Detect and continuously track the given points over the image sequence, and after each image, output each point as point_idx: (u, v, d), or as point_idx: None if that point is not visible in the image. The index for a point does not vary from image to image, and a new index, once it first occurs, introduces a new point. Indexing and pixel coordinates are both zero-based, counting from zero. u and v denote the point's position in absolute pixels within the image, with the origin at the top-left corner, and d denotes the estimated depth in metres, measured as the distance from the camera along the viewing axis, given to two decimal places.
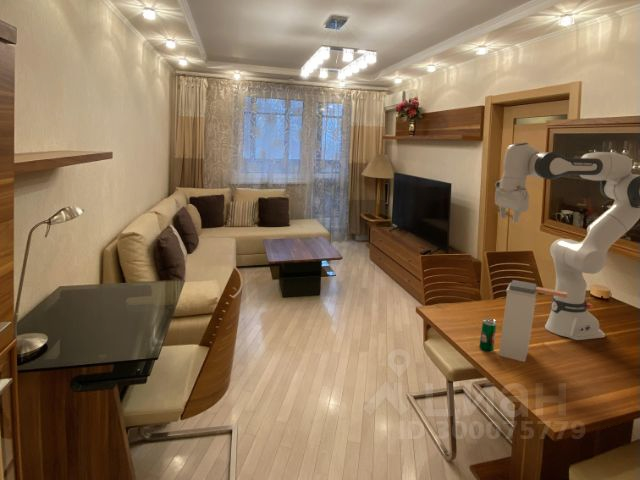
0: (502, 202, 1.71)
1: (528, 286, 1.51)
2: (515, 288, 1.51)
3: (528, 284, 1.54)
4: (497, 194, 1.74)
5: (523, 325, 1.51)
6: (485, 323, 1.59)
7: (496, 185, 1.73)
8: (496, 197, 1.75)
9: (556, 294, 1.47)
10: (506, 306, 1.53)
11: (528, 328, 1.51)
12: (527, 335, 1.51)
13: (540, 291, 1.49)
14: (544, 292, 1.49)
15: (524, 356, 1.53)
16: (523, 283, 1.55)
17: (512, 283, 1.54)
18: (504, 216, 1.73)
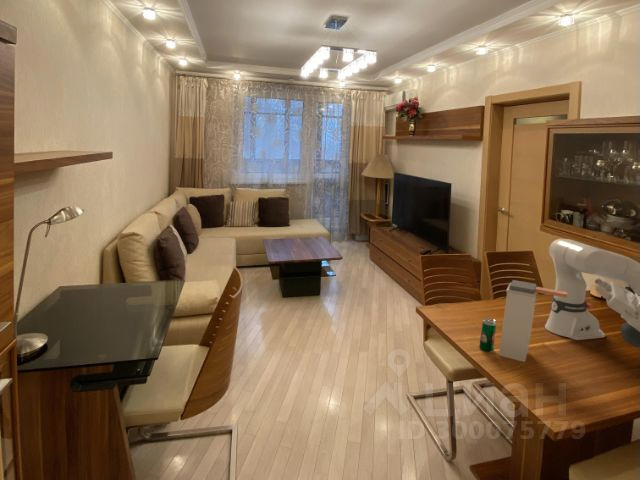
0: (617, 288, 1.41)
1: (528, 286, 1.51)
2: (515, 288, 1.51)
3: (528, 284, 1.54)
4: (624, 290, 1.44)
5: (523, 325, 1.51)
6: (485, 323, 1.59)
7: (638, 295, 1.41)
8: (621, 287, 1.45)
9: (556, 294, 1.47)
10: (506, 306, 1.53)
11: (528, 328, 1.51)
12: (527, 335, 1.51)
13: (540, 291, 1.49)
14: (544, 292, 1.49)
15: (524, 356, 1.53)
16: (523, 283, 1.55)
17: (512, 283, 1.54)
18: (596, 281, 1.44)
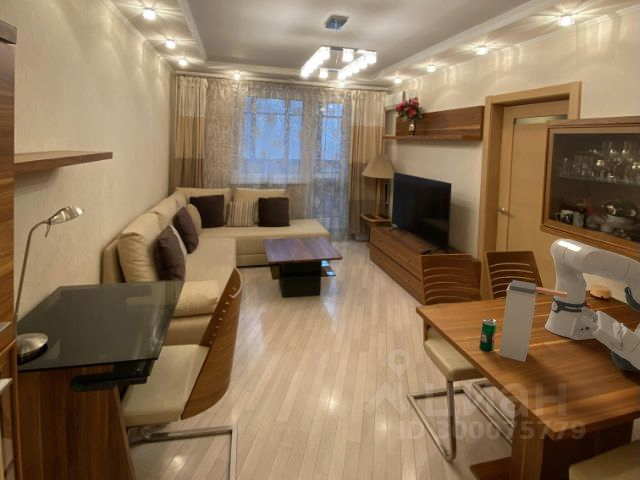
0: (604, 318, 1.44)
1: (528, 286, 1.51)
2: (515, 288, 1.51)
3: (528, 284, 1.54)
4: (611, 319, 1.47)
5: (523, 325, 1.51)
6: (485, 323, 1.59)
7: (624, 324, 1.45)
8: (607, 316, 1.48)
9: (556, 294, 1.47)
10: (506, 306, 1.53)
11: (528, 328, 1.51)
12: (527, 335, 1.51)
13: (540, 291, 1.49)
14: (544, 292, 1.49)
15: (524, 356, 1.53)
16: (523, 283, 1.55)
17: (512, 283, 1.54)
18: (583, 310, 1.48)
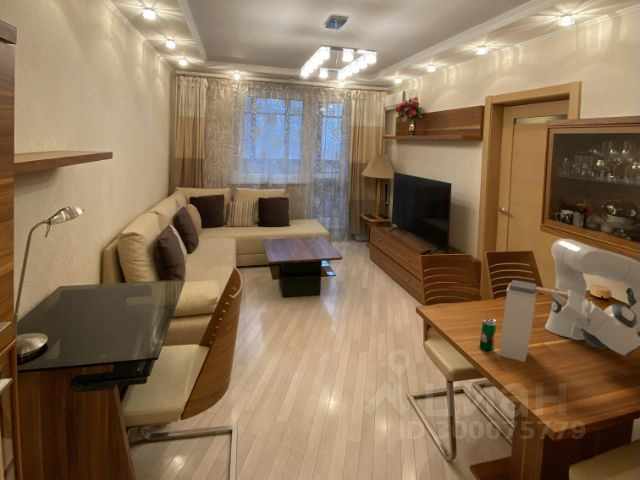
0: (573, 296, 1.48)
1: (528, 286, 1.51)
2: (515, 288, 1.51)
3: (528, 284, 1.54)
4: (581, 297, 1.51)
5: (523, 325, 1.51)
6: (485, 323, 1.59)
7: (593, 302, 1.49)
8: (577, 294, 1.52)
9: None
10: (506, 306, 1.53)
11: (528, 328, 1.51)
12: (527, 335, 1.51)
13: (540, 291, 1.49)
14: (544, 292, 1.49)
15: (524, 356, 1.53)
16: (523, 283, 1.55)
17: (512, 283, 1.54)
18: None
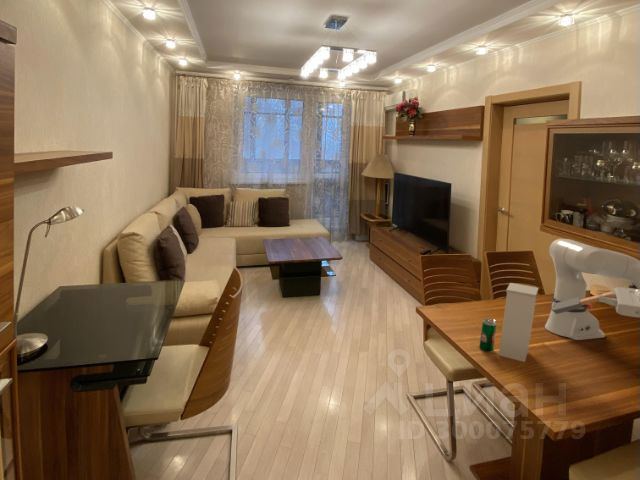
0: (622, 292, 1.41)
1: (572, 302, 1.45)
2: (561, 310, 1.44)
3: (571, 300, 1.47)
4: (630, 290, 1.43)
5: (523, 325, 1.51)
6: (485, 323, 1.59)
7: None
8: (625, 289, 1.44)
9: None
10: (506, 306, 1.53)
11: (528, 328, 1.51)
12: (527, 335, 1.51)
13: (586, 302, 1.42)
14: (590, 301, 1.42)
15: (524, 356, 1.53)
16: (566, 301, 1.49)
17: (556, 306, 1.48)
18: None
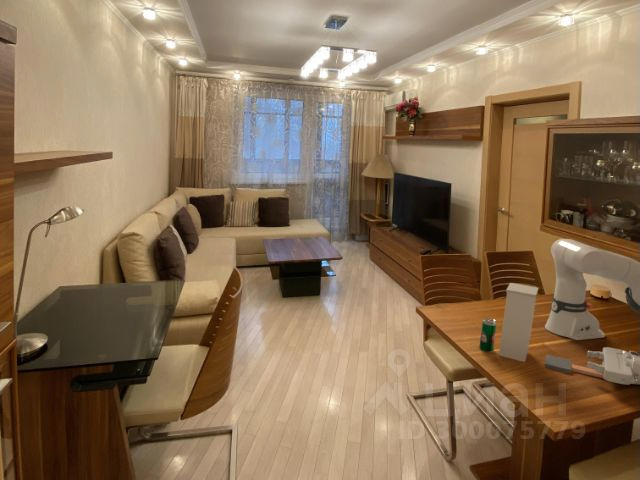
0: (610, 354, 1.46)
1: (564, 364, 1.49)
2: (551, 367, 1.49)
3: (563, 361, 1.52)
4: (618, 351, 1.48)
5: (523, 325, 1.51)
6: (485, 323, 1.59)
7: (632, 352, 1.45)
8: (613, 349, 1.49)
9: (593, 374, 1.45)
10: (506, 306, 1.53)
11: (528, 328, 1.51)
12: (527, 335, 1.51)
13: (577, 370, 1.47)
14: (581, 371, 1.47)
15: (524, 356, 1.53)
16: (557, 359, 1.53)
17: (547, 360, 1.52)
18: (589, 355, 1.49)
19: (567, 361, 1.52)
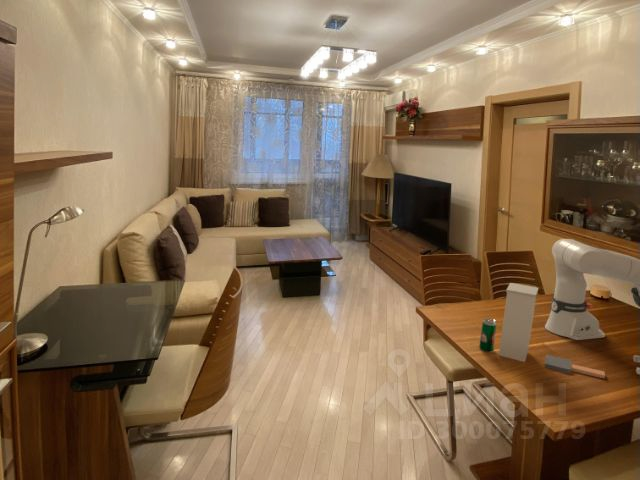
0: None
1: (564, 364, 1.49)
2: (551, 367, 1.49)
3: (563, 361, 1.52)
4: None
5: (523, 325, 1.51)
6: (485, 323, 1.59)
7: None
8: None
9: (593, 374, 1.45)
10: (506, 306, 1.53)
11: (528, 328, 1.51)
12: (527, 335, 1.51)
13: (577, 370, 1.47)
14: (581, 371, 1.47)
15: (524, 356, 1.53)
16: (557, 359, 1.53)
17: (547, 360, 1.52)
18: (635, 360, 1.42)
19: (567, 361, 1.52)
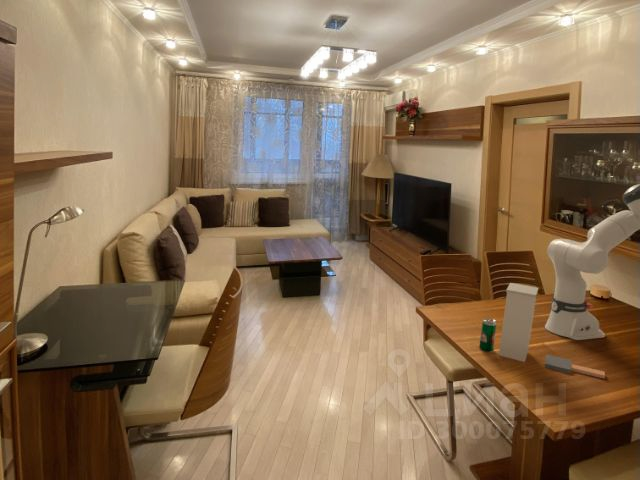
0: None
1: (564, 364, 1.49)
2: (551, 367, 1.49)
3: (563, 361, 1.52)
4: None
5: (523, 325, 1.51)
6: (485, 323, 1.59)
7: None
8: None
9: (593, 374, 1.45)
10: (506, 306, 1.53)
11: (528, 328, 1.51)
12: (527, 335, 1.51)
13: (577, 370, 1.47)
14: (581, 371, 1.47)
15: (524, 356, 1.53)
16: (557, 359, 1.53)
17: (547, 360, 1.52)
18: None
19: (567, 361, 1.52)
